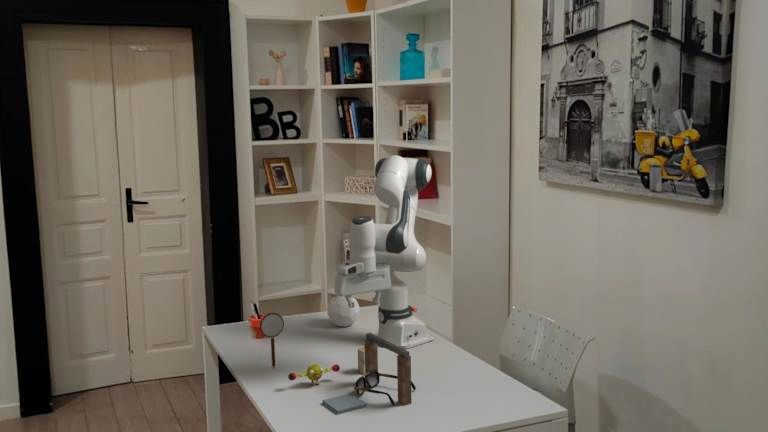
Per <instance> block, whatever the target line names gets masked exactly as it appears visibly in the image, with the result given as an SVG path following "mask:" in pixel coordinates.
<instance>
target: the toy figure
mask: <svg viewBox="0 0 768 432" xmlns="http://www.w3.org/2000/svg"><path fill="white" fill-rule="evenodd" d="M331 370H332V371H333V372H335V373H337V372H339V371H340V365H339V364H338V363H337V364H333V365H332V367H331V368H324V369H323V368H322V367H321V366H320V365H318V364H311V365H309V366H308V367H307V369H306V371H305V372H304V373H299V374H296V373H295V372H290V373H289V374H288V375H287V378H288V380H289V381H294V380H296V379H297V377H300V378H302V377H307V378H308V379H309V380H310V381H311V384H310V385H311V387H312V386H315V384H316V385H317V386H318V385H320V383H319V380H320V379H321V378H322V376H323V374H324V373H326V372H327V373H329V371H331ZM314 382H315V384H314Z"/></svg>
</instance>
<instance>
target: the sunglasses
mask: <svg viewBox="0 0 768 432" xmlns="http://www.w3.org/2000/svg"><path fill="white" fill-rule="evenodd" d="M380 377H384V378H392V379H396V380H397V375H393V374H388V373H381V372H379V370H378V371H376V370H373V371H370V372H368V373H366V374H365V375H364V374H362V376H360V377H359V378H358V379H357V380H355V385H354V386H353V388H354V390H355V391H356V395H357V396H362V395H364V393H365V392H366V393H367V392H368V393H372V394H378V395H382V394H383V395H386V396H387V397H388V399H389V401H390V404H391V405H392V406H393V407H394V406H395V401H394V399H393V397H392V396H391V395H390V394H389V393H388V392H384V391H380V390H376V389H372V388H373V387H376V386H377V385H379V384H380ZM366 387H369V388H366ZM411 389H412V390H414V391H416V390H417V388H416V385H415V384H414V382H413V381H412V380H411Z"/></svg>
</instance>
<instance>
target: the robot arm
mask: <svg viewBox="0 0 768 432" xmlns="http://www.w3.org/2000/svg"><path fill="white" fill-rule="evenodd" d="M374 167H375V168H374V176H375V180H374V182H373V183H374V184H373V192H374V194H375V196H376V198H377V199H378V200H379V201H380V202H381V203H383V204H384V205H386V206H388V207H387V208H388V209H387V212H386V217H385V222H384V223H374V222H375V221H374V219H373V217H371V216H368V215H367V216H366V215H362V216H357V217H354V218H352V219H351V221H350V222H349V223H350V225H349V233H348V241H349V242H348V245H349V248H350V252H349V256H348V258H349V259H347V260H346V261H344V262H342V263H340V264H338V265H337V266H336V267H335V268H336V270H335V271H336V272H337V273H336V275H335V278H334V293H335V294H336V296H341V297H343V296H345V298H346V300H347V302H348V307H349V308H354V307H355V306H354V302H352V301H351V299H350V298H351V297H352V296H354V295H360V294H367V293H373V292H374V293H375V295H374V297H372V299H371V300H372V301H371V302H372V304H374V305H376V304H378V305H379V306H378V307H377V309H378V310H377V311H378V312H377V313H378V314H377V315H378V316H377V317H378V329H377V335H376V336H378V337H380V338H382V339H384V340H386V341H388V342H390V343H392V344H394V345H396V346H398V347H400V348H403V349H405V350H407V349H411V348H414V347H417V346H421V345H423V344H426V343H429V342H432V341H434V336H433V335H432V334H431V333H429V332H428V328H427V325H426V323H425V321H423V320H422V319H419V317H417V316H416V315H414V314H413V313H417V312H418V308H417V307H416V306H412V305H409V288H408V286H407V284H406V283H405V281H403V280H401V279H400V278H398V276H397V275H396V274H395V272H397V273H398V272H402V273H412V272H420V271H421V270H422V269H423V268H424V267H425V266H426V264H427V263H426V262H427V253H426V250H425V249H424V247H423V246H422V245H421V244H420V243H419V242H418V240H417V237H416V235H415V222H416V216H417V212H418V204H419V192H421V191H422V190H423V189H424V188H425V187H427V186H428V185H429V183H430V182H431V179H432V173H433V170H432V165H431V163H430V162H429V160H426V159H423V158H413V157H402V156H400V155H397V154H396V155H394V154H393V155H390V156H388V157H384V158H380V159H379V160H378V161H377V162H376V163H375V166H374Z"/></svg>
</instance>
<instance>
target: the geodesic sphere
mask: <svg viewBox="0 0 768 432" xmlns="http://www.w3.org/2000/svg"><path fill="white" fill-rule="evenodd" d="M350 299H351V301H352V302H354V306H355V307H354V308H349V307H348V302H347V300H346V298H345V296H343V297H341V296H338V295H336V296H333V297H332V299H331V300H330V301H329V302H328V304H327V316H328V318H329V321H330V322H331V323H333V324H335V325H336V326H339V327H344V328H345V327H346V328H347V327H349V326H351V325H353V324H354V323H355V322H356V321H357V319H358V318H359V316H360V309H361V307H360V305H359V302H358V301H357V299H356V298H354V297H353V296H351V298H350Z"/></svg>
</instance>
